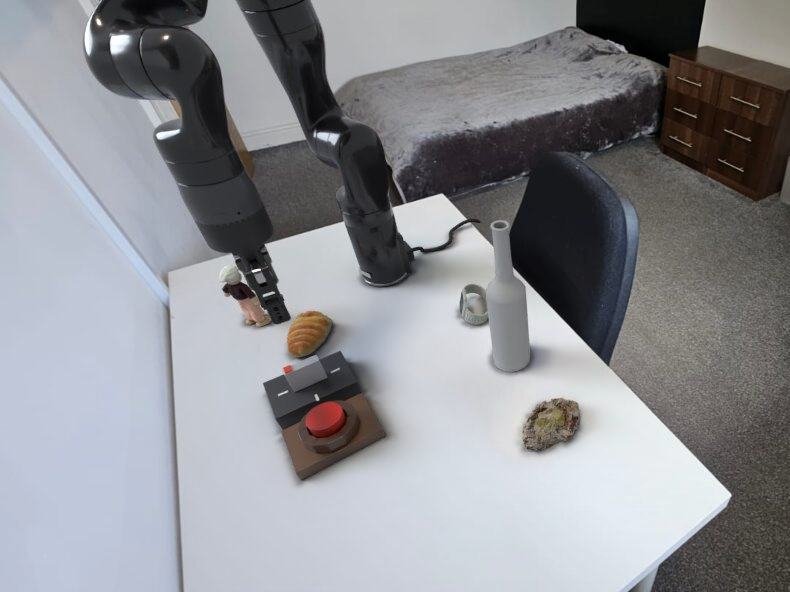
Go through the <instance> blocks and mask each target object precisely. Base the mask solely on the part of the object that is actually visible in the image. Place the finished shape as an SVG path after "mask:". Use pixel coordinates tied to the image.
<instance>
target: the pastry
mask: <svg viewBox="0 0 790 592" xmlns="http://www.w3.org/2000/svg"><path fill="white" fill-rule="evenodd" d="M332 326H333V319H332V318H331V317H329V316H328V315H327V314H325V313H323V312H321V311H319V310H308V311H305V312H301V313H299V315H297V316H296V318H295V320H294V321H293V323H291V326H290V327H289V330H288V332H287V337H286V340H287V341H286V343H287V351H288V352H289V353H290V355H291V356H292V357H293V358H301V357H305V356H309V355H312V354H314V352H315V351H317V349H318V348H319V347H320V346H322V345H323V344H324V343H325V341H326V339H327V338H328V336H329V334H330V332H331V331H332Z"/></svg>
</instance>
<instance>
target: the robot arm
mask: <svg viewBox="0 0 790 592" xmlns="http://www.w3.org/2000/svg"><path fill="white" fill-rule="evenodd" d="M235 3H236V4H237V6H238V8H239V10H240V11H241V12H240V13H242V15H243V17H244V19H245V21H246V23H247V25H248V27H249V28H250V30H251V32H252V34H253V36H254V38H255V39H256V41H257V43H258V44H259V46H260V48H261V50H262V52H263V53H264V55H265V57H266V59H267V61H268V62H269V64H270V66H271V68H272V70H273V72H274V74H275V76H276V77H277V79H278V81H279V84H280V85H281V86H282V88H283V90H284V92H285V94H286V96H287V97H288V98H287V99H288V100H289V102H290V104H291V106H292V109H293V112H294V113H295V116H296V119H297V121H298V123H299V125H300V128H301V130H302V133H303V135H304V137H305V141H306V142H307V144H308V147H309V149H310V150H311V152H312V154H313V155H314V156H315V157H316V158H317V159H318V160H319V161H320V162H321V163H322V164H325V166H328V167H330V168H333V169H335V170H338V171H339V173H340V177H341V180H342V183H343V185H342V186H340V187H339V189H337V191H336V193H335V197H336V202H337V205H338V209H339V212H340V214H341V217H342V220H343V222H344V226H345V229H346V232H347V235H348V237H349V241H350V243H351V246H352V249H353V252H354V255H355V257H356V261H357V264H358V266H359V268H358V272H359V274H361V277H362V280H363V282H364V283H366V285H369V286H372V287H381V288H383V287H388V286H392V285H396V284H397V283H398V284H399V283H400V282H401V281H403V280H405V278H406V277H407V276H408V275H410V274H412V273H413V272H412V268H411V267H412V266H411V264H410V263H412V262H414V261H416V256H415V253H414V252H417V251H419V252H420V253H423V254H424V253H425V254H426V253H434V252H438V251H441V250H443V249H446V248H447V247H449V246H450V245H451V244H452V243H453V240H454V239H453V234H454V232H455V231H456V230H458V229H459V228H461V227H463V226H464V225H466V224H469V223H477V224H481V223H482V221H481V220H480V219H478V218H468V219H465V220H462V221H460V222H459V223H457V224H455V226H453V227H451V229H450V230H449V232H448V240H447V241H446V242H445V243H442V244H441V245H439V246H435V247H431V248H424V247H423V246H414V247H411V246H410V244H408V242H407V241H406V240H404V237H403V235H402V233H400V231H399V229H398V225H397V224H398V223H397V221H396V216H395V213H394V208H393V205H392V201H391V197H390V189H391V180H390V179H391V178H390V174H389V169H388V163H387V159H386V153H385V150H384V146H383V145H384V144H383V142H382V140H381V138H380V136H379V134H378V133H377V131H376V130H375V129H374V128H373V127H372V126H370V125H369V124H367V123H364V122H361V121H359V120H355V119H352V118H350V117H348V116H346V114H345V113H344V112H343V111H344V110H343V109H342V108H341V106H340V104H339V103H338V100H337V98H336V96H335V95H334V94H335V93H334V92H333V89H332V88H331V85H330V82H329V79H328V74H327V49H326V39H325V33H324V30H323V26H322V23H321V21H320V18H319V15H318V13H317V11H316V9H315V7H314V4H313V2H312V0H235ZM208 6H209V0H99V1H98V2H97V4H96V5H95V7H94V8H93V10H92V12H91V14H90V16H89V18H88V19H87V22H86V24H85V27H84V30H83V34H82V35H83V36H82V51H83V56H84V60H85V62H86V64H87V67H88V69H89V72H90V73H91V74H92V75H93V77H94V79H95V80H96V81H97V82H98V83H99V84H100V85H101V86H102V87H103V88H105V89H106V90H107V91H109V92H111V93H112V94H114V95H116V96H118V97H122V98H125V99H129V100H137V101H138V100H139V101H166V102H167V101H171V102H176V103H177V105H178V107H179V109H180V117H177V118H174V119H173V118H172V119H169V120H167V121H164V122H162V123H160V124H158V125H157V126H156V127H155V128H154V129H153V132H152V140H153V143H154V145H155V147H156V149H157V151H158V153H159V155H160V158H162V160H163V162H164V164H165V166H166V168H167V169H168V171H169V173H170V175H171V176H172V178H173V180H174V182H175V184H176V186H177V189H178V191H179V195H180V197H181V199H182V202H183V204H184V205H185V207H186V208H187V210H188V212H189V214H190V216H191V218H192V220H193V222H194V223H195V225H196V227H197V228H198V230H199V232H200V234H201V236H202V237H203V239H204V241H205V243H206V244H207V246H208V248H210V249H211V250H213V251H215V252H217V253H220V254H221V253H222V254H231V255H232V258H233V261H234V264H235V266H236V267H237V269H238V270H239V271H238V272H241V273H242V274H243V277H244V280H245V282H246V284H247V285H248V286H249V288H250V289H251V290H252V291H253V292H254V293H255V294H256V296H257V298H258V299H259V301H260V307H261V308H262V309H263V311H266V312H267V314H268V316H269V317H270V318H271V320H272V321H271V322H272V324H274V325H276V326H277V325H278V326H279V325H281V324H283V323H286V322H289V321H291V319H292V318H291V314H290V312H289V310H288V308H287V306H286V304H285V298H284V295H283V293H281V292H280V289H279V288H278V284H279V283H280V279H279V277H278V275H277V273H276V271H275V269H274V266H273V259H272V257H271V255H270V252H269V250H268V247H267V246H266V243H267V242H269V241H270V240H271V239H272V237H273V236H274V234H275V227H274V224H273V223H272V220H271V217H270V215H269V213H268V211H267V208H266V207H265V204H264V202H263V200H262V197H261V195H260V193H259V191H258V189H257V186H256V184H255V181H254V180H253V179H252V177H251V176H250V174H249V172H248V171H247V168H246V167H245V165H244V162H243V160H242V158H241V156H240V153H239V151H238V149H237V146H236V144H235V142H234V140H233V138H232V134H231V130H230V125H229V118H228V111H227V106H226V98H225V89H224V88H225V87H224V78H223V74H222V68H221V65H220V63H219V60H218V57H217V56H216V54H215V52H214V51H213V49H212V48H211V46H209V45H208V43H207V42H206V40H204V39H203V38H202V37H201V36H200V35H199V34H197V33H196V32H194V31H192V30H191V29H190V28H187V27H188V26H193V25H196V24H198V23H200V22H201V21H203V20H204V18H205V17H206V15H207V11H208ZM269 293H271V294H269ZM267 294H268V295H267ZM264 295H266V296H264Z"/></svg>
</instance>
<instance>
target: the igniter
mask: <svg viewBox="0 0 790 592" xmlns="http://www.w3.org/2000/svg"><path fill="white" fill-rule="evenodd" d="M327 402H334V403H337V404H339V405H340V406H341V408H342V410H343V412H344V414H345V416H346V422H345V424H344V426H343V427H342V429H341V430H340V431H338V432H337V433H336V434H334V435H332V436H329V437H324V438H319V437H316V436H314V435H313V434H312V433H311V431H310V430H309V428H308V426H307V425H306V417H307V415H308V413H309V412H310V411H311V410H312V409H313V408H312V409H311V410H310V411H309V412H308V413H307V414H306V415H305V416H304V417H303V418H302V419H301V422H299V423H297V424H295V425H293V426H290V427H288V428H286V429H284V430H282V429H281V431H280V433H281V436H282V439H283V442H284V444H285V447H286V450H287V453H288V456H289V459H290V462H291V464H292V467H293V470H294V474H295V475H296V476H297V478H298V479H299V480H300V481H303V480H305V479H307V478H308V477H311V476H312V475H314V474H316V473H318V472H320V471H322V470H324V469H326V468H328V467H330V466H331V465H333V464H335V463H337V462H339V461H340V460H343V459H344V458H347V457H348V456H350V455H352V454H354V453H357V452H358V451H360V450H362V449H364V448H366V447H367V446H369V445H371V444H373V443H376V441H379V440H381V439H382V438H384V437H386V434H385V432H384V429H383V427H382V426H381V424H380V422H379V420H378V418H377V416H376V414H375V412H374V410H373V408H372V407H371V405H370V403H369V401H368V400H367V397H366V395H365V394H364V392H362V393H360V394H358V395H356V396H354V397H352V398H350V399H348V400H346V401H342V400H338V401H327ZM327 402H325V403H327ZM314 408H315V407H314Z"/></svg>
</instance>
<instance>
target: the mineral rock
mask: <svg viewBox="0 0 790 592" xmlns="http://www.w3.org/2000/svg"><path fill="white" fill-rule="evenodd" d="M579 408H580V407H579V403H578V401H575V400H573V399H572V400H571V399H565V398H564V397H559V398H551V399H550V400H549V401H548V402H547V400H543V401H542V402H541V404H540V403H538V404H536V405H535V407H534V408H533V409H532V411H531V413H530V415H529V417H527V419H526V423H525V426H523V428H522V443H524V445H525V449H526V450H527V451H528V450H536V451H543V450H546V449H548V448H551V447H553V445H555V444H556V443H557V442H560V441H563V442H567V441H569V440H570V439H571V438H572V437H573V435H575V431H576V430H578V426H579V424H580V420H579V414H580V409H579Z"/></svg>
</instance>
